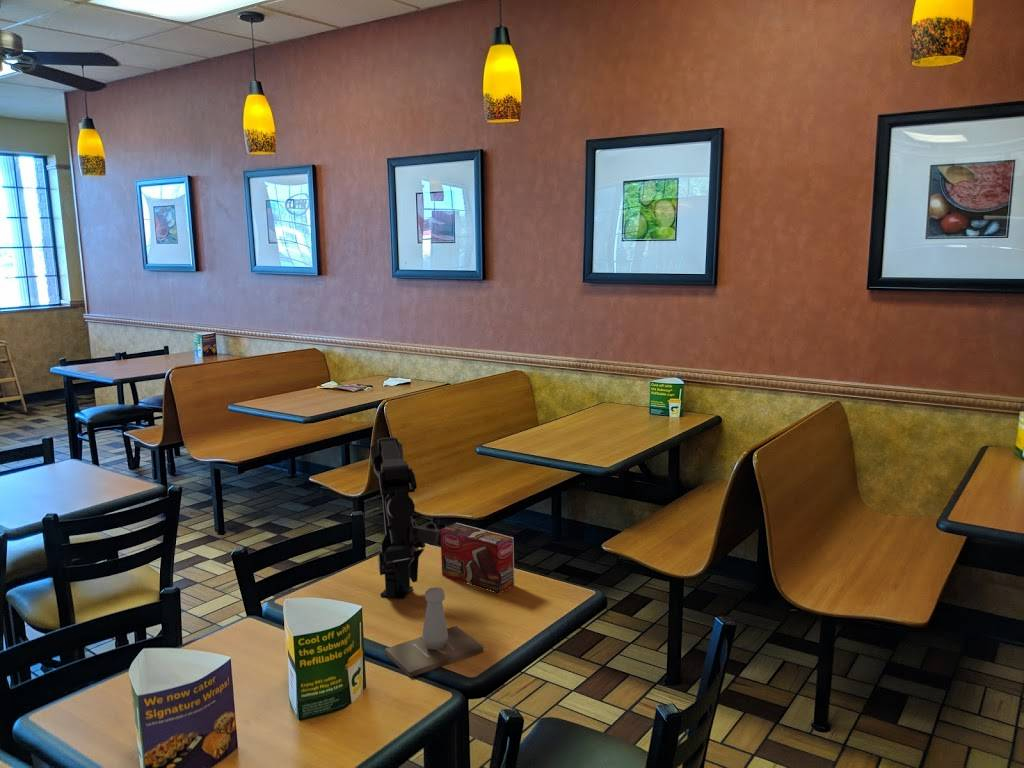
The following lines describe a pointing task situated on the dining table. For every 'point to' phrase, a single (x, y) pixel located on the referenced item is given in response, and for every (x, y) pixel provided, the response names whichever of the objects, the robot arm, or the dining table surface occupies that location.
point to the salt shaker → (434, 620)
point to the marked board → (433, 652)
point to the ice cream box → (477, 557)
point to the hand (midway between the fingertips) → (411, 585)
